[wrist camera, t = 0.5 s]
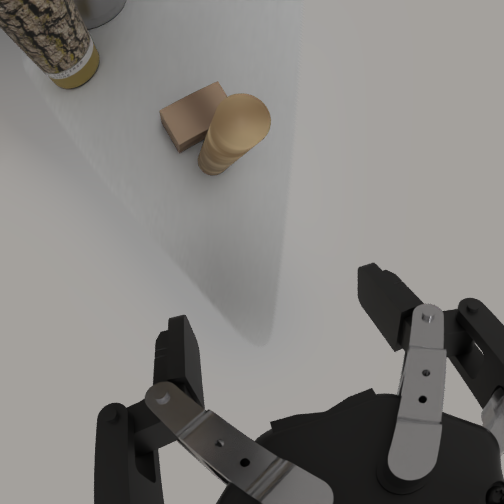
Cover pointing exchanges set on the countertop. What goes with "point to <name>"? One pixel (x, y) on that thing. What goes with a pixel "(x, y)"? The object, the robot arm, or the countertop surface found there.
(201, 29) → the countertop surface
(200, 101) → the wooden block
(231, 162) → the dowel
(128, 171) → the countertop surface
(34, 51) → the brown bark cylinder
